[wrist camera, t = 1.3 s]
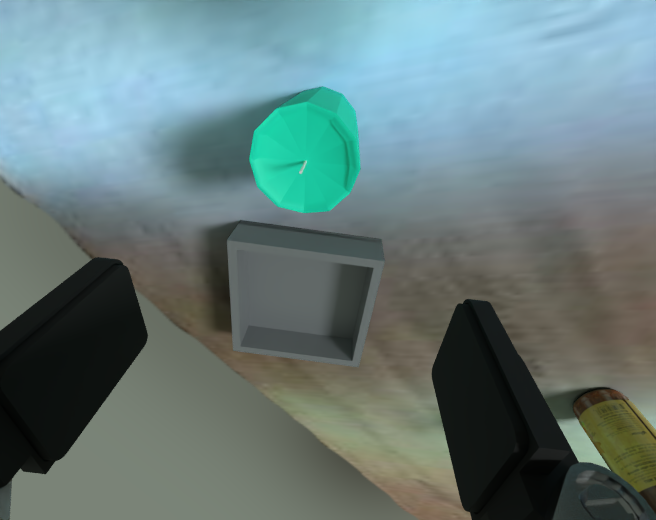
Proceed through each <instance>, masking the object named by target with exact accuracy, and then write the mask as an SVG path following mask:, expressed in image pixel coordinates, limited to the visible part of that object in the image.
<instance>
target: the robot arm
mask: <svg viewBox="0 0 656 520" xmlns="http://www.w3.org/2000/svg"><path fill="white" fill-rule="evenodd" d="M147 337H148V334H147V330H146V326H145V323H144V320H143V316H142V313H141V310H140V306H139V303H138V300H137V296H136V293H135V289H134V286H133V283H132V279H131V276H130V273H129V270H128V268H127V267H126V266H124V265H123V263H122V262H121V261H120V260H117V259H108V258H99V257H98V258H94V259H92V260H91V261H90V262H88V263H87V264H86V265H84V266H83V267H82V268H81V269H79V270H78V271H77V272H75V273H74V274H73V275H72V276H70V277H69V278H68V279H66V280H65V281H64V282H63V283H61V284H60V285H59V286H57V287H56V288H55V289H54V290H52V291H51V292H50V293H48V294H47V295H46V296H45V297H43V298H42V299H41V300H39V301H38V302H37V303H35V304H34V305H33V306H32V307H30V308H29V309H28V310H26V311H25V312H24V313H23V314H21V315H20V316H19V317H17V318H16V319H15V320H14V321H12V322H11V323H10V324H8V325H7V326H6V327H5V328H3V329H2V330H1V331H0V520H10V506H11V488H12V478H13V477H14V475H15V474H16V473H17V472H18V470H19V469H20V468H21V469H22V470H23V471H24V472H32V473H41V474H46V473H47V472H48V471H49V469H50V468H51V466H52V465H53V464H54V462H55V461H57V460H60V459H61V458H62V457H64V456H65V454H66V453H67V452H68V451H69V449H70V448H71V446H72V445H73V444H74V442H75V441H76V440H77V438H78V437H79V436H80V434H81V433H82V431H83V430H84V429H85V427H86V426H87V424H88V423H89V422H90V420H91V419H92V418H93V416H94V415H95V414H96V412H97V411H98V409H99V408H100V407H101V405H102V404H103V402H104V401H105V400H106V398H107V397H108V396H109V394H110V393H111V391H112V390H113V389H114V387H115V386H116V384H117V383H118V382H119V380H120V379H121V378H122V376H123V375H124V373H125V372H126V371H127V369H128V368H129V367H130V365H131V364H132V362H133V361H134V360H135V358H136V357H137V356H138V354H139V353H140V351H141V350H142V349H143V347H144V346H145V344H146V341H147ZM432 380H433V385H434V389H435V393H436V397H437V402H438V406H439V410H440V414H441V419H442V423H443V427H444V431H445V435H446V440H447V444H448V448H449V452H450V457H451V461H452V465H453V469H454V474H455V478H456V482H457V486H458V491H459V495H460V499H461V503H462V506H463V508H464V509H465V511H468V512H470V514H471V518H472V520H656V514H655V513H654V511H653V510H652V508H651V507H650V506H649V504H648V503H647V501H646V500H645V499H644V498H643V497H642V496H641V495H640V494H639V493H638V492H637V490H636V489H635V488H634V487H633V486H632V485H630V484H629V483H628V482H627V481H625V480H624V479H623V478H621V477H620V476H619V475H617V474H616V473H614V472H612V471H610V470H608V469H607V468H605V467H603V466H599V465H596V464H593V463H587V462H578V460H577V458H576V456H575V454H574V452H573V451H572V449H571V447H570V445H569V443H568V442H567V440H566V438H565V436H564V434H563V432H562V431H561V429H560V427H559V425H558V423H557V421H556V420H555V418H554V416H553V414H552V412H551V410H550V409H549V407H548V405H547V403H546V401H545V400H544V398H543V396H542V394H541V392H540V390H539V389H538V387H537V385H536V383H535V381H534V379H533V378H532V376H531V374H530V372H529V370H528V368H527V367H526V365H525V363H524V361H523V360H522V358H521V357H520V356H519V355H518V353H517V351H516V350H515V348H514V346H513V344H512V342H511V340H510V339H509V337H508V335H507V333H506V331H505V329H504V327H503V326H502V324H501V322H500V320H499V318H498V316H497V315H496V313H495V311H494V309H493V307H492V305H491V304H490V303H489V302H488V301H480V300H471V299H466V300H465V301H464V302H463V304H458V305H457V306H456V308H455V311H454V313H453V316H452V319H451V321H450V324H449V326H448V329H447V331H446V334H445V336H444V339H443V342H442V344H441V347H440V349H439V352H438V354H437V357H436V359H435V362H434V365H433V368H432Z"/></svg>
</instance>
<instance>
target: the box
mask: <svg viewBox="0 0 656 520" xmlns="http://www.w3.org/2000/svg"><path fill="white" fill-rule="evenodd" d="M227 251H228V269H229V286H230V304H231V321H232V338H233V351H240V352H248V353H255V354H263V355H270V356H278V357H285V358H293V359H301V360H308V361H316V362H323V363H331V364H338V365H346V366H353V367H359V363H360V359H361V355H362V351H363V347H364V343H365V339H366V335H367V331H368V327H369V323H370V319H371V315H372V311H373V307H374V303H375V299H376V295H377V291H378V287H379V283H380V279H381V275H382V271H383V267H384V263H385V259H384V253H383V246H382V240H381V239H376V238H368V237H361V236H354V235H346V234H339V233H331V232H324V231H316V230H309V229H301V228H294V227H287V226H279V225H272V224H264V223H257V222H249V221H242V220H241V221H240V222H239V223H238V225H237V226H236V228H235V229H234V231H233V232H232V234H231V235H230V236H229V238H228V239H227Z"/></svg>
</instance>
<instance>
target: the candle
mask: <svg viewBox="0 0 656 520" xmlns="http://www.w3.org/2000/svg"><path fill="white" fill-rule="evenodd" d="M249 161H250V164H251V167H252V171H253V174H254V177H255V180H256V184H257V187H258V188H259V189H260V190H261V191H262V192H263V193H264V194H265V195H266V196H267V197H268V198H269V199H270V200H271V201H272V202H273V203H274V204H275V205H276V206H277V207H281V208H285V209H289V210H294V211H298V212H302V213H311V212H324V211H330V210H331V209H332V208H333V207H335V206H336V205H337V204H338V203H339V202H340V201H342V200H343V199H344V198H345V197H346V196H347V195H349V194H350V192H351V190H352V188H353V185H354V183H355V181H356V178H357V176H358V174H359V171H360V153H359V137H358V127H357V120H356V113H355V110H354V109H353V107H352V106H351V105H350V103H349V102H348V101H347V99H346V98H345V97H344V95H343V94H341V93H338V92H336V91H333V90H331V89H328V88H326V87H319V88H315V89H310V90H305V91H303V92H301V93H300V94H298V95H296V96H295V97H293V98H292V99H290V100H289V101H287V102H286V103H284V104H282V105H281V106H279V107H278V108H276V109H275V110H274V111H273V112H272V113H271V114H270V115H269V116H268V117H267V118H266V119H265V120H264V121H263V123H262V124H261V125H260V126H259V127H258V128H257V129H256V130H255V131H254V135H253V140H252V146H251V151H250V157H249Z"/></svg>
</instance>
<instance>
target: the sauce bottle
mask: <svg viewBox="0 0 656 520" xmlns="http://www.w3.org/2000/svg"><path fill="white" fill-rule="evenodd" d="M573 410H574V413H575V415H576V417H577V418H578V420H579V423H580V425H581V426H582V428H583V429H584V431H585V432H586V434H587V435H588V437H589V438H590V440H591V441H592V443H593V444H594V446H595V447H596V449H597V450H598V452H599V453H600V455H601V456H602V458H603V459H604V461H605V463H606V464H607V465H608V467H609V469H610V470H611V471H612V472H614V473H616V474H617V475H619V476H620V477H621V478H623V479H624V480H625V481H627V482H628V483H629V484H630V485H632V486H633V487H634V488H635V489H636V490H637V492H638V493H639V494H640V495H641V496H642V497H643V498H644V499H645V500H646V501H647V503H648V504H649V506H650V507H651V508H652V510H653V511H654V513H655V514H656V430H655V429H654V428H653V426H652V425H651V424H650V423H649V422H648V420H647V419H646V418H645V417H644V416H643V415H642V413H641V412H640V411H639V410H638V409H637V408H636V406H635V405H634V404H633V403H632V402H630V401H629V399H628V398H627V397H626V396H624V395H623V394H622V393H620V392H618V391H616V390H613V389H599V390H594V391H591V392H588V393H585V394H584V395H582V396H581V397H580V398H579V399H578V400H576V402H575V403H574V405H573Z"/></svg>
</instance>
